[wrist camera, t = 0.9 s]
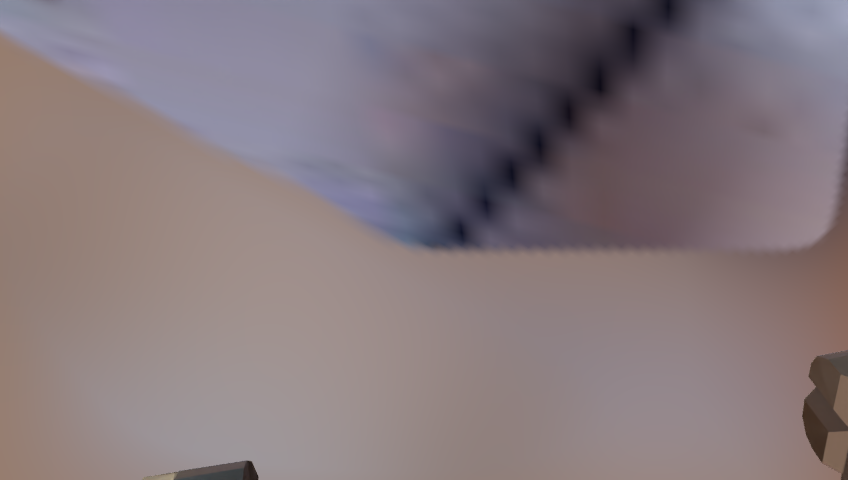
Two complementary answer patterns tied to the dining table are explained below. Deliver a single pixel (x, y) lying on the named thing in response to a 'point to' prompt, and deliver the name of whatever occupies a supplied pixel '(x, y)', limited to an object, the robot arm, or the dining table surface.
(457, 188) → the dining table surface
